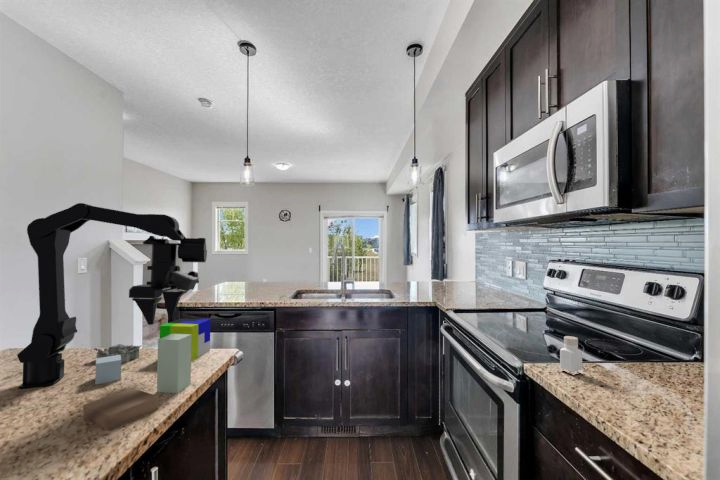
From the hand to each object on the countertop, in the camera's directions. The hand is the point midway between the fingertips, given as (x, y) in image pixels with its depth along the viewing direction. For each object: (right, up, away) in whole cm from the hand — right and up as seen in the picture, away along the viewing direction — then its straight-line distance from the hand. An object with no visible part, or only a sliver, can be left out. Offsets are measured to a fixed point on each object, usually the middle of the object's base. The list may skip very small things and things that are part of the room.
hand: (161, 320), depth 90 cm
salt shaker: (+110, -15, +1) cm, 111 cm away
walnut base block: (+6, -14, -23) cm, 27 cm away
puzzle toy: (-1, -14, +14) cm, 20 cm away
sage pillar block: (+9, -13, -11) cm, 19 cm away
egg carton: (-18, -14, +10) cm, 25 cm away
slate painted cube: (-10, -13, -5) cm, 18 cm away
